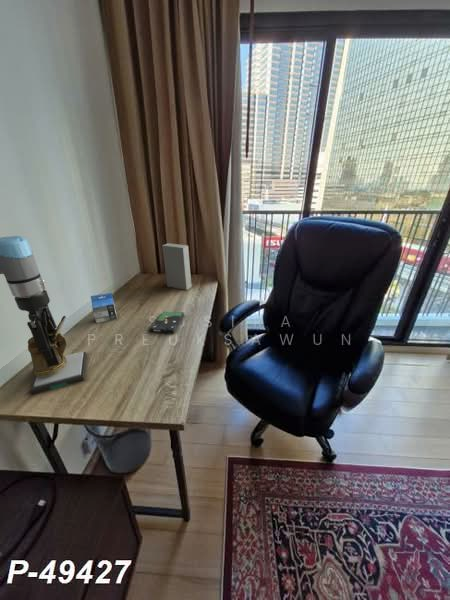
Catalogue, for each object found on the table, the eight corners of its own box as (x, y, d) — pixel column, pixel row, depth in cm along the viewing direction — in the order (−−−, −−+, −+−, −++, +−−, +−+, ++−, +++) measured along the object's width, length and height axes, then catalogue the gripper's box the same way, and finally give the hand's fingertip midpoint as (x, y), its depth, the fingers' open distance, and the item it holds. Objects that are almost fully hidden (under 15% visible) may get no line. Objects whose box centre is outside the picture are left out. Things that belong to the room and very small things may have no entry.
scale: (33, 396, 76) (29, 389, 74) (42, 367, 87) (39, 360, 86) (84, 382, 81) (82, 375, 79) (87, 356, 92) (85, 350, 91)
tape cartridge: (96, 324, 112) (89, 299, 107) (96, 320, 115) (89, 296, 110) (117, 320, 115) (111, 296, 110) (117, 316, 118) (111, 292, 113)
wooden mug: (77, 371, 79) (60, 323, 71) (29, 379, 76) (5, 329, 68) (84, 354, 87) (69, 308, 79) (40, 360, 84) (20, 314, 76)
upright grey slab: (192, 287, 148) (189, 245, 137) (186, 291, 143) (183, 247, 132) (173, 283, 153) (168, 242, 142) (167, 287, 148) (161, 245, 137)
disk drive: (174, 335, 104) (184, 317, 117) (174, 329, 102) (183, 311, 115) (150, 334, 105) (163, 315, 118) (149, 328, 104) (162, 310, 117)
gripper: (38, 305, 64) (65, 374, 74) (51, 279, 80) (72, 338, 90) (2, 311, 61) (35, 381, 71) (23, 283, 77) (48, 343, 88)
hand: (56, 357), depth 81 cm, fingers closed on wooden mug, 7 cm apart
